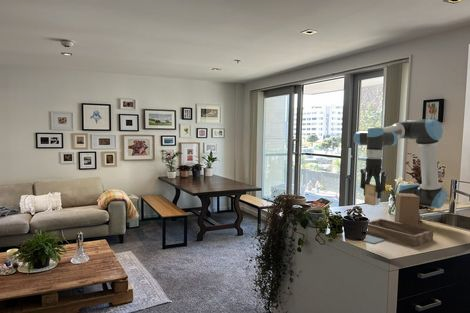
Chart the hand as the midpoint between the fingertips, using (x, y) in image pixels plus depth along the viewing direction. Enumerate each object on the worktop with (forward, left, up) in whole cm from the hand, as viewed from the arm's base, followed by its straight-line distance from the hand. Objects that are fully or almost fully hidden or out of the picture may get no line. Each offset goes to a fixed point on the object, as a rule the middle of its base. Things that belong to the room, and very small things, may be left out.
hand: (371, 203), depth 172 cm
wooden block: (-36, 0, -19) cm, 41 cm away
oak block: (0, 0, 0) cm, 0 cm away
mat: (0, 0, -19) cm, 19 cm away
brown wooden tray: (-18, +4, -19) cm, 26 cm away
